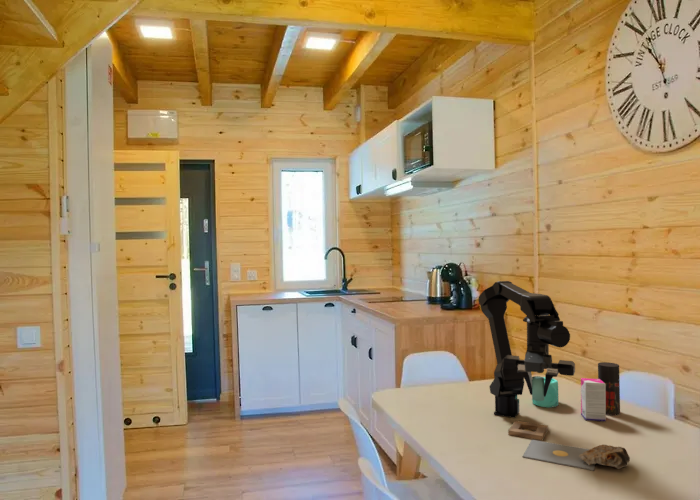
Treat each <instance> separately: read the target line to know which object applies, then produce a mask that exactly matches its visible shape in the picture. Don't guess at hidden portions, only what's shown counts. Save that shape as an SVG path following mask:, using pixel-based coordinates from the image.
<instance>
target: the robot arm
mask: <svg viewBox="0 0 700 500" xmlns="http://www.w3.org/2000/svg"><path fill="white" fill-rule="evenodd" d="M509 301H512V303H513V302H514V304H516V305H518V306H519V307H520V308H519V310H520V311H521V312H522V313H523V314H524V315H525V317H524V318H523V319H522V321H523V322H524V323H526V351H525V355H524V359H520V356H519V355H513V354H512V348H511V344H510V340H509V336H508V335H509V334H508V329H507V325H506V321H505V314H506V311H507V308H508V305H507V303H508V302H509ZM478 304H479V306H480V311H481V312H482V314H483V315H484V316H485V317H486V318H487V319H488V323H489V328H490V329H489V330H490V332H491V340H492V343H493V349H494V354H495V359H496V366H495V368H494V371H493V376H494V379H493V380H492V382H491V384H490V385H489V392H490V394H491V395H494V412H493V415H494V416H501V417H508V418H516V417H517V416H518V414H520V399H519V398H518V396H519V395H520V396H522V395H523V392H524V387H525V383H526V386H527V388H528V392H529V395H531V396H532V377H533V376H532V373H537V374H542V373H544V372H545V370H546V372H545V376H544V377H545V385H544V397H545V396H546V394H547V391H548V388H549V385H550V382H551V380H552V378H553V379H554V378H557V377H558V376H559V375H561V376H567V377H568V376H569V377H572V376H575V372H576V364H575V362H574V361H572V360H564V359H559V361H558V362H553V356H552V354H549V352H550V351H549V350H550V346H552V347H553V346H554V347H556V348H564V347H566V346H567V345H568V344H569V342H570V340H571V333H570V331H569V329H568V328H567V327H566V326H564V321H562V320H561V319H560V316H559V315H560V314H559V313H558V310H557V309H556V307H555V305H554V302H553V300H552V298H551V297H550V296H549V295H547V294H541V293H533V292H529V291H528V290H526V289H524V288H522V287H521V286H518V285H516V284H514V283H513V282H511V281H510V280H500V281H499V280H497V281H496V282H494V283H493V284H492V285H491V286H489V287H487V288H485V289H483V291H481V293H480V294H479V296H478Z"/></svg>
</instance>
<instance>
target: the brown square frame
mask: <svg viewBox="0 0 700 500" xmlns="http://www.w3.org/2000/svg"><path fill="white" fill-rule="evenodd" d="M548 427H549V425H546V424H541V423H534V422H526V421H520V420H514V422H513V423H512V425H511V426H510V428H508V431H507V433H508V434H507V435H508V436H512V437H513V436H514V437H519V438H525V439H531V440H537V441H544V438H545V436H546V434H547V432H548V431H549V430H548Z"/></svg>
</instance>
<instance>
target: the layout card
mask: <svg viewBox="0 0 700 500" xmlns="http://www.w3.org/2000/svg"><path fill="white" fill-rule="evenodd" d="M590 449H591V448H590ZM590 449H589V448H583V447H578V446H572V445H565V444H560V443H555V442H548V441H544V440H537V439H531V440H530V442H529V443H528V446H527V447H526V449H525V451H524V453H523V454H522V458H523V459H530V460H536V461H541V462H546V463H551V464H556V465H562V466H567V467H568V466H569V467H572V468H578V469H584V470H588V471H595V467H596V464H594V465H588V464H587V463H586V462H585V461H584V460H582V459H581V458H580V457H579V455H580V454H583V453H584V452H585V451H588V450H590Z"/></svg>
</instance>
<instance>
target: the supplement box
mask: <svg viewBox="0 0 700 500" xmlns="http://www.w3.org/2000/svg"><path fill="white" fill-rule="evenodd" d="M580 415H581V416H582V417H583V419H584V420H585V421H589V422H592V421H593V422H606V421H607V420H606V419H607V417H606V384H605V383H604V382H603V381H602V380H600V379H598V378H586V377H585V378H584V377H581V378H580Z"/></svg>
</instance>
